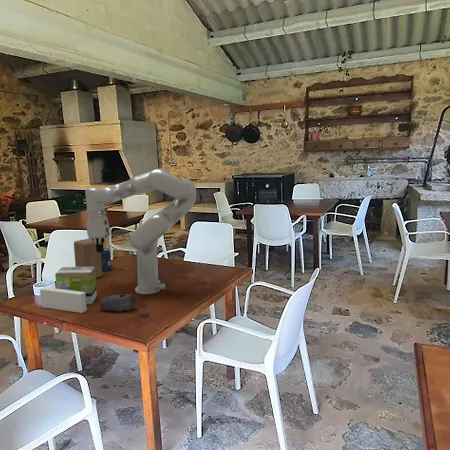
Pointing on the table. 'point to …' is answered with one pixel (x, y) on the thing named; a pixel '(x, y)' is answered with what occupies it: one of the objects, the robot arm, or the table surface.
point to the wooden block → (87, 255)
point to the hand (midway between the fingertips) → (100, 251)
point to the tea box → (78, 281)
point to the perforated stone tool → (118, 302)
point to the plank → (63, 299)
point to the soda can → (106, 259)
